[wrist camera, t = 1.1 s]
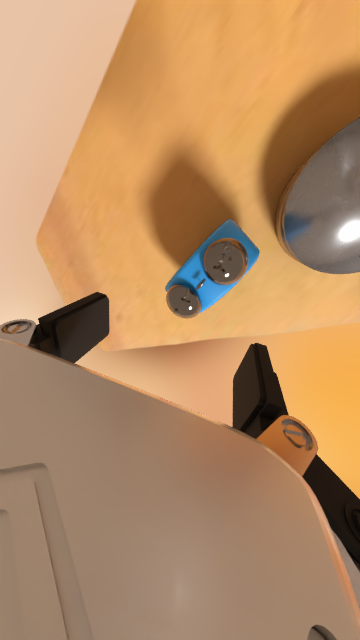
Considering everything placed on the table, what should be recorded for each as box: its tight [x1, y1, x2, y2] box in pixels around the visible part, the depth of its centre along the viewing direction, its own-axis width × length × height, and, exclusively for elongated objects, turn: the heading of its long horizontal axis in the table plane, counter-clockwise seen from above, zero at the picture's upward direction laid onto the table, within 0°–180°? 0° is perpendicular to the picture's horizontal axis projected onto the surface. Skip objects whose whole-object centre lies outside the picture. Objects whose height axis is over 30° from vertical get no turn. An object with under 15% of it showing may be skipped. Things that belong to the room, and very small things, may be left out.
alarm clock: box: [165, 219, 259, 319], centre depth 25 cm, size 13×6×15 cm, turn 139°
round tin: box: [275, 117, 360, 274], centre depth 21 cm, size 15×15×6 cm
